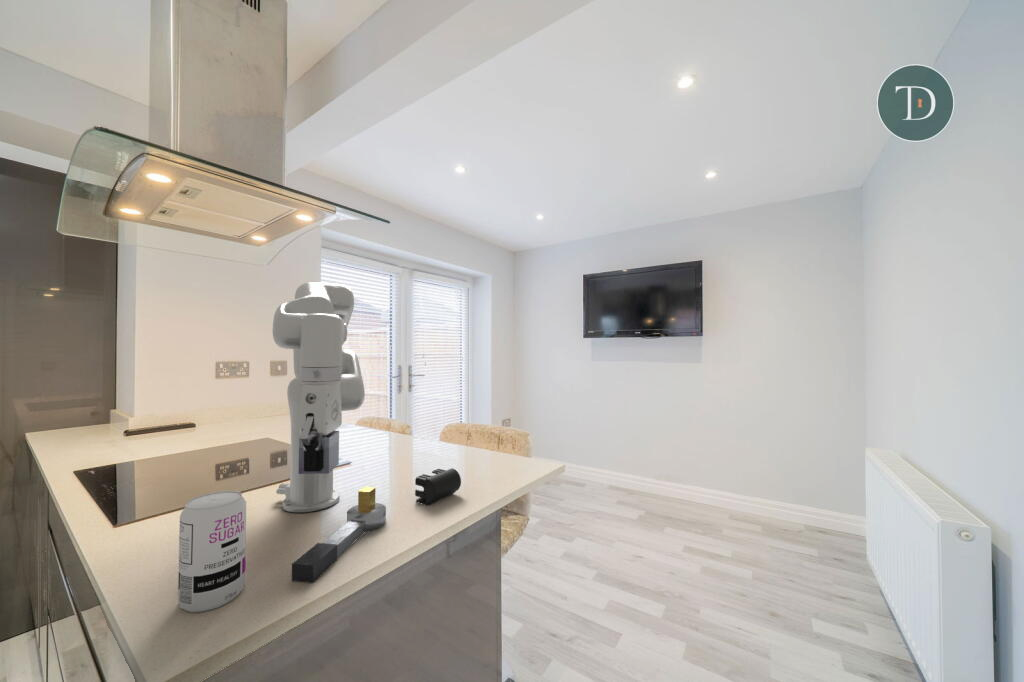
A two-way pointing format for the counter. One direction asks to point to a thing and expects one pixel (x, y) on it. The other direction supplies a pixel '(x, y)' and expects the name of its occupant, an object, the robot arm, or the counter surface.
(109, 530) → the counter surface
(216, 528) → the supplement can
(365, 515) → the ratchet
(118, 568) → the counter surface
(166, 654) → the counter surface
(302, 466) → the socket
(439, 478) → the end cap
